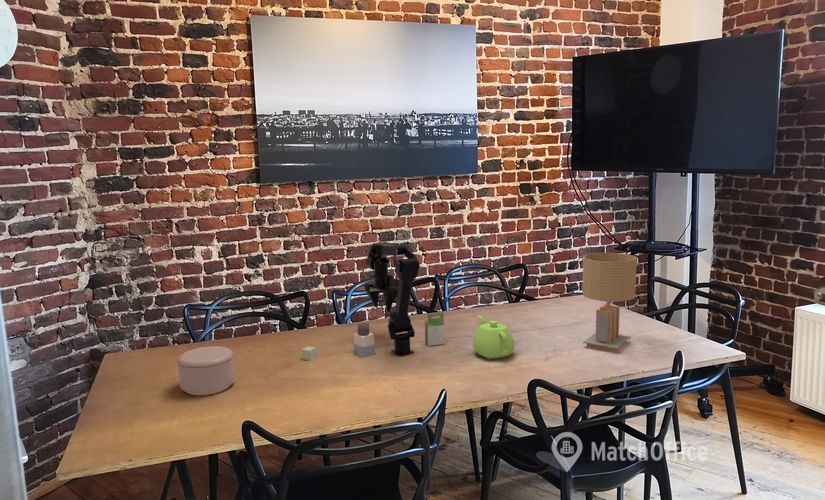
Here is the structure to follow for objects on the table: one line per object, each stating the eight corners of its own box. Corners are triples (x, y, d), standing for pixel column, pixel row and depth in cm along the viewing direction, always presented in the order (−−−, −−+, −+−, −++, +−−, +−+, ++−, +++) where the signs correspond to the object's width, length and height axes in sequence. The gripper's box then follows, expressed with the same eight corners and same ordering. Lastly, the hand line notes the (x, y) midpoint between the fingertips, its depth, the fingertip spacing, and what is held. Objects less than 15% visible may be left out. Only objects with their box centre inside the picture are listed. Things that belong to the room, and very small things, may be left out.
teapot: (462, 347, 235) (461, 315, 233) (495, 342, 241) (495, 311, 238) (488, 365, 215) (488, 331, 213) (524, 359, 220) (524, 325, 218)
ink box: (441, 341, 243) (440, 309, 241) (444, 344, 240) (443, 312, 237) (425, 343, 241) (424, 311, 239) (428, 346, 238) (427, 314, 235)
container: (216, 372, 216) (214, 341, 214) (246, 384, 204) (243, 351, 202) (170, 388, 202) (166, 355, 200) (198, 401, 191) (195, 367, 189)
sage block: (317, 357, 229) (316, 347, 228) (310, 360, 225) (309, 350, 224) (308, 356, 230) (308, 346, 230) (302, 359, 227) (301, 349, 226)
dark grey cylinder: (371, 334, 230) (371, 324, 229) (361, 336, 227) (361, 326, 226) (365, 331, 233) (365, 322, 233) (355, 334, 231) (355, 324, 230)
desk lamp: (624, 356, 220) (627, 263, 214) (573, 347, 232) (575, 258, 226) (639, 342, 236) (643, 255, 230) (591, 334, 247) (593, 251, 241)
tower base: (375, 354, 231) (374, 344, 230) (361, 357, 228) (361, 347, 227) (367, 350, 236) (367, 340, 235) (354, 353, 233) (353, 343, 232)
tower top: (374, 343, 231) (373, 333, 230) (363, 347, 227) (362, 337, 227) (365, 340, 235) (365, 331, 234) (354, 344, 231) (354, 334, 230)
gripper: (410, 273, 240) (411, 310, 242) (385, 266, 255) (386, 302, 257) (387, 277, 233) (388, 315, 236) (362, 270, 248) (364, 306, 251)
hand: (382, 309), depth 245 cm, fingers open, 9 cm apart
